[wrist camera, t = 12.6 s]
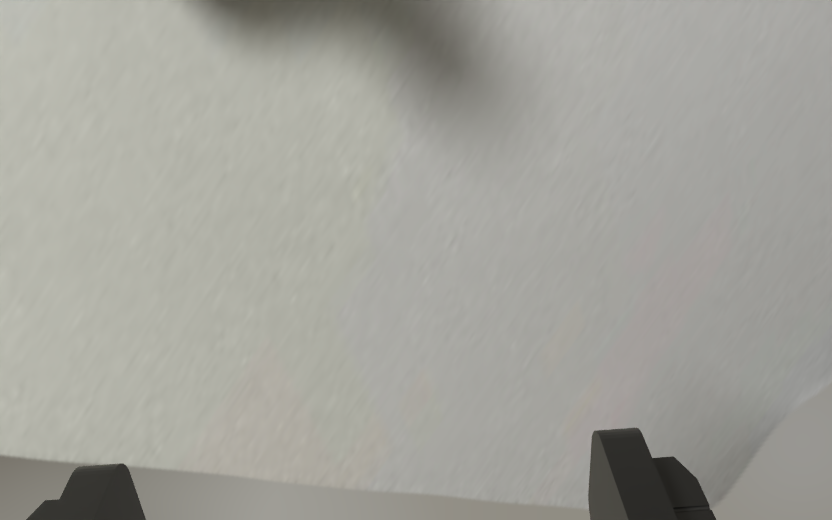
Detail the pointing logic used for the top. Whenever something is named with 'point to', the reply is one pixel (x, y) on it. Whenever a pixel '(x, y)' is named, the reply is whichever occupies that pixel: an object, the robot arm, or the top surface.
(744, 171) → the top surface
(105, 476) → the robot arm
